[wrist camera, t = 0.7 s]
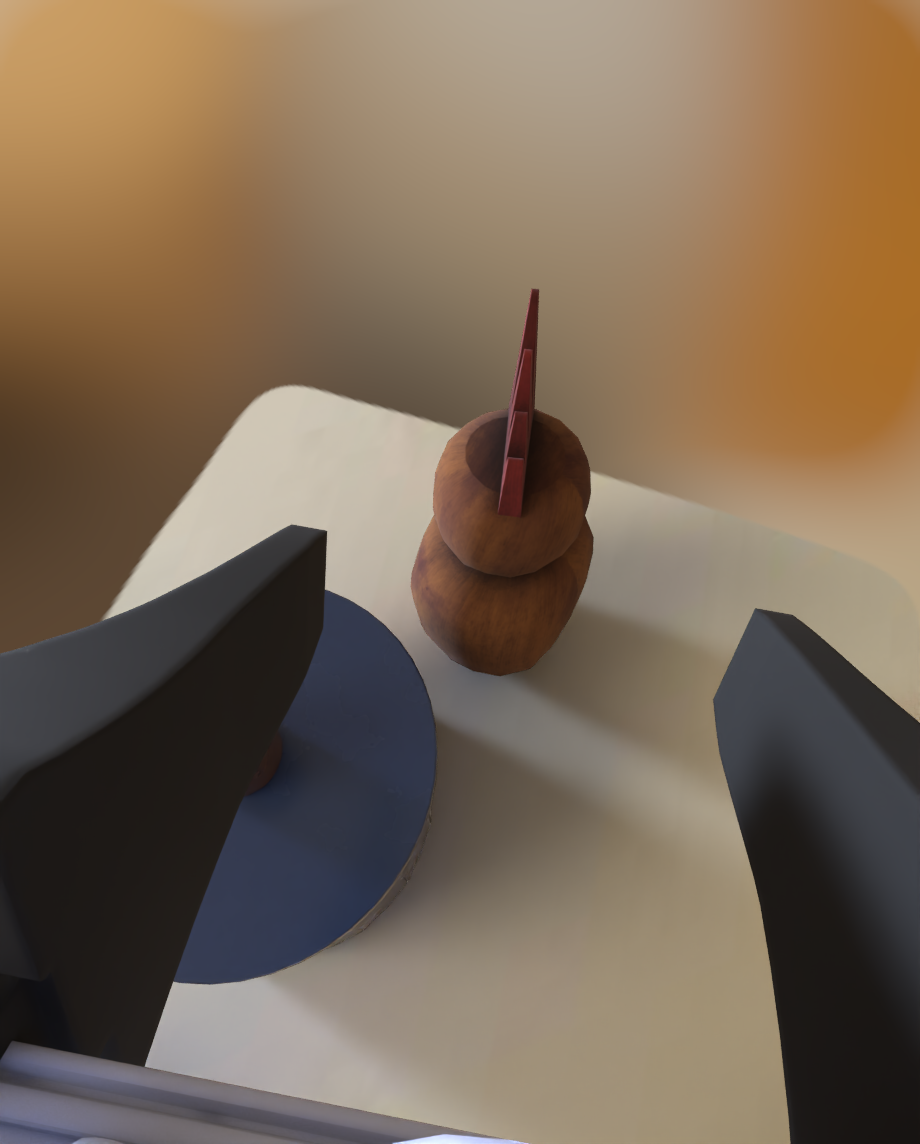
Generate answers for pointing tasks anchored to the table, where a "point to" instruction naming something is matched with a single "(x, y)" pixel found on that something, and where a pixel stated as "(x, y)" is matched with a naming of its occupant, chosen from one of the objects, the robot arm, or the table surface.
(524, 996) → the table surface
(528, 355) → the wooden figurine
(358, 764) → the pot lid
